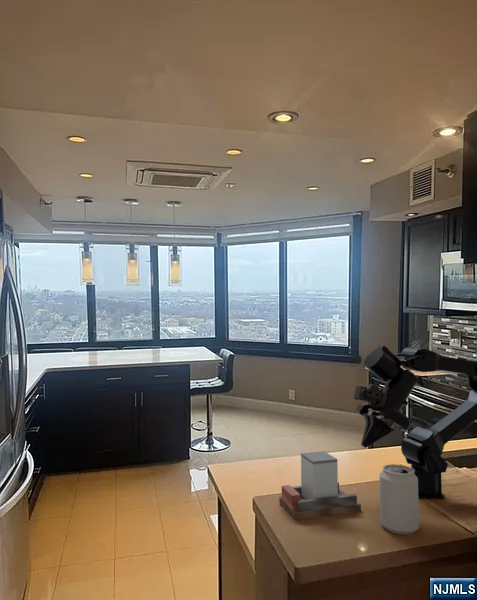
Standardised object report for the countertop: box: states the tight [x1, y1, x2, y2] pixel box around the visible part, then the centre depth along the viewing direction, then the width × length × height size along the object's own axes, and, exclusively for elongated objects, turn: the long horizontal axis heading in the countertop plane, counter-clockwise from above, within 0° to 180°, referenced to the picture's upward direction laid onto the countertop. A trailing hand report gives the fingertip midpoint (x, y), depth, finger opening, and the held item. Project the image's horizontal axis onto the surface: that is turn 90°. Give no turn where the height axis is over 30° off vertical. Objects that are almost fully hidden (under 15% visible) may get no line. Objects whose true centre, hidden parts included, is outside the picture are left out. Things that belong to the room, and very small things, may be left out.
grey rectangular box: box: [300, 451, 339, 500], centre depth 100 cm, size 6×6×10 cm
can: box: [379, 463, 420, 535], centre depth 90 cm, size 8×8×12 cm
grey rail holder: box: [278, 482, 362, 521], centre depth 100 cm, size 16×9×4 cm, turn 106°
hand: (363, 446), depth 104 cm, fingers closed
